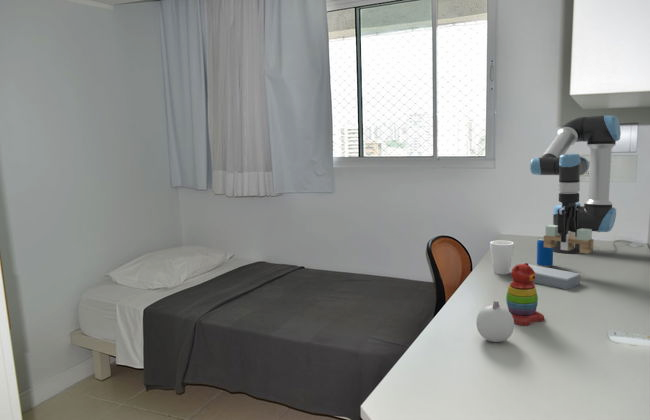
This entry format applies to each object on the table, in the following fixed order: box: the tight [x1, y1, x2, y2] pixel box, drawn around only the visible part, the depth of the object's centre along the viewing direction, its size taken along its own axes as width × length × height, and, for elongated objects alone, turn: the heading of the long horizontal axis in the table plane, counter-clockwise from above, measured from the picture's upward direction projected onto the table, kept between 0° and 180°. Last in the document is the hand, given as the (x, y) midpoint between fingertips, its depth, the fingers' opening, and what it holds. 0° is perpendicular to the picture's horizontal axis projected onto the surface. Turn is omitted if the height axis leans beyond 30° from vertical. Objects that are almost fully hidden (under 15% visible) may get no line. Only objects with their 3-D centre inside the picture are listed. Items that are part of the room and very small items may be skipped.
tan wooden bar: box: [543, 234, 595, 255], centre depth 204 cm, size 5×18×5 cm, turn 37°
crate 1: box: [545, 224, 560, 237], centre depth 208 cm, size 4×4×4 cm
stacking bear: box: [505, 262, 546, 326], centre depth 158 cm, size 11×10×18 cm
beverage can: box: [536, 237, 554, 268], centre depth 219 cm, size 6×6×12 cm
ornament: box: [475, 300, 515, 343], centre depth 143 cm, size 10×10×12 cm
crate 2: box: [577, 228, 593, 241], centre depth 198 cm, size 4×4×4 cm
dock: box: [528, 263, 581, 290], centre depth 197 cm, size 10×22×4 cm, turn 37°
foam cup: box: [489, 239, 515, 276], centre depth 211 cm, size 10×9×13 cm
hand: (567, 248), depth 204 cm, fingers closed on tan wooden bar, 5 cm apart
